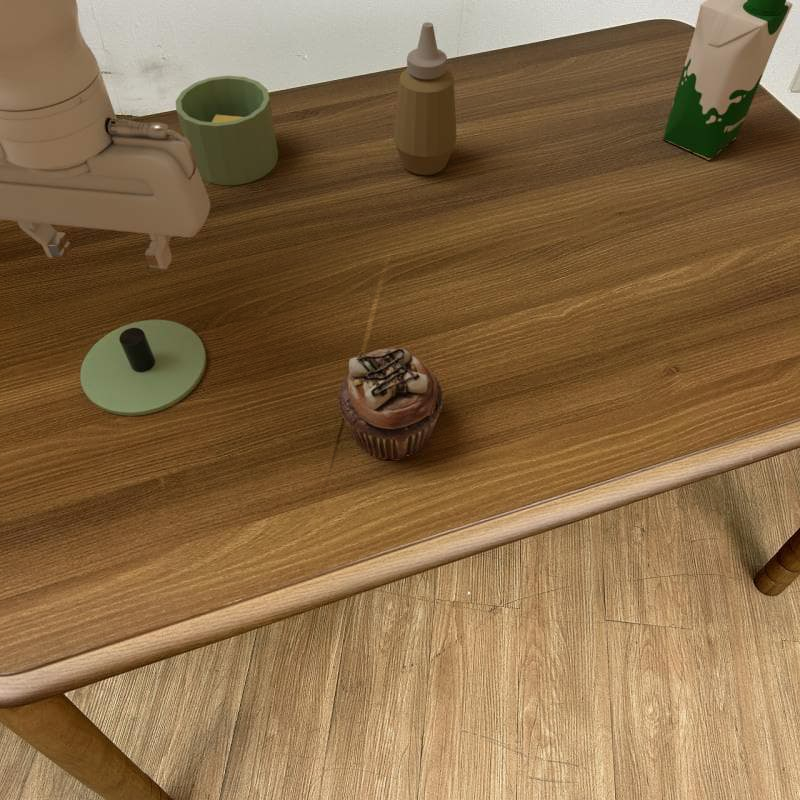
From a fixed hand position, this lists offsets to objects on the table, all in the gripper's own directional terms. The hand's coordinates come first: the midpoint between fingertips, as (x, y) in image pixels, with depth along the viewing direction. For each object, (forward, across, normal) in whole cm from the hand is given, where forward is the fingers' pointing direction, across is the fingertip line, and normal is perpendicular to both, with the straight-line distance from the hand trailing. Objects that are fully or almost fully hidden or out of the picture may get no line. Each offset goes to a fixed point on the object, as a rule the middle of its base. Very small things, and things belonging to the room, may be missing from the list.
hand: (110, 259), depth 66 cm
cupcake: (+14, -26, +4) cm, 30 cm away
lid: (+13, 0, +1) cm, 13 cm away
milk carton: (+14, -59, -49) cm, 78 cm away
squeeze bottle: (+14, -23, -39) cm, 47 cm away
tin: (+14, +2, -36) cm, 38 cm away
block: (+13, +2, -36) cm, 38 cm away
